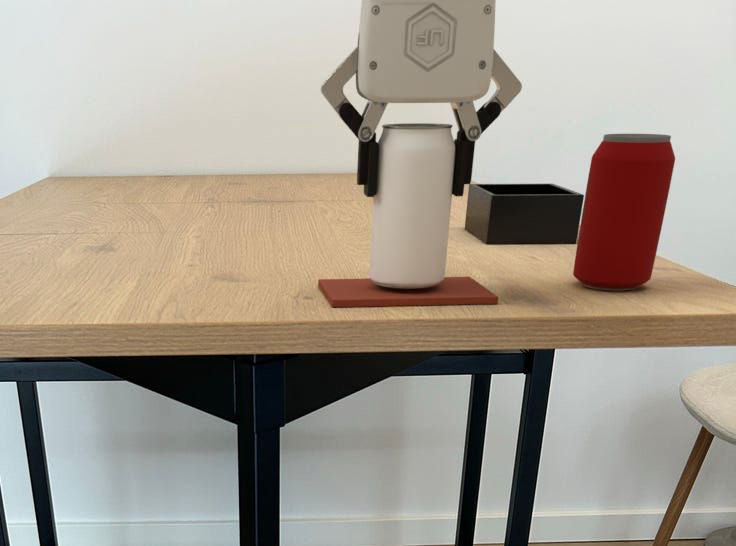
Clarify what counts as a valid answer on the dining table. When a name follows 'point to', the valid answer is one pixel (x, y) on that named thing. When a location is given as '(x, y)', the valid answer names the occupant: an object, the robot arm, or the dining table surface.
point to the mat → (405, 293)
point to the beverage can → (623, 211)
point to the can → (412, 205)
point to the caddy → (523, 213)
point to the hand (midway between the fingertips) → (412, 192)
